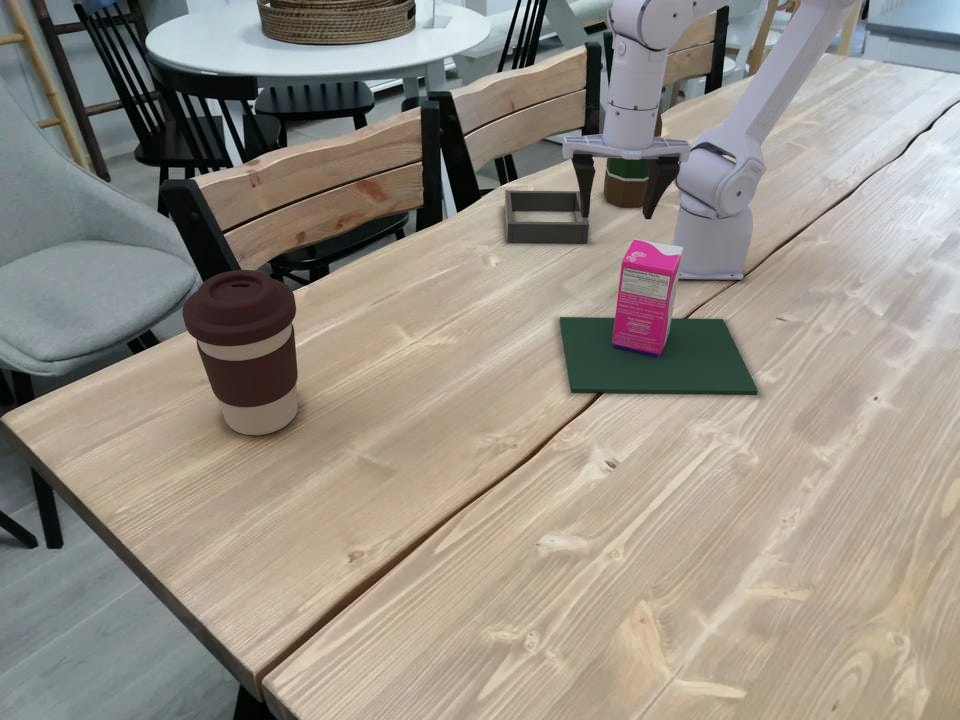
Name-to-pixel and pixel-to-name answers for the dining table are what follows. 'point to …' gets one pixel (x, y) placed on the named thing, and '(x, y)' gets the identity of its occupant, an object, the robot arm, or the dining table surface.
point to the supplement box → (646, 297)
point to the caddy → (545, 230)
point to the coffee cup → (247, 347)
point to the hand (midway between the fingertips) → (615, 215)
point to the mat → (655, 360)
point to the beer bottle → (628, 177)
